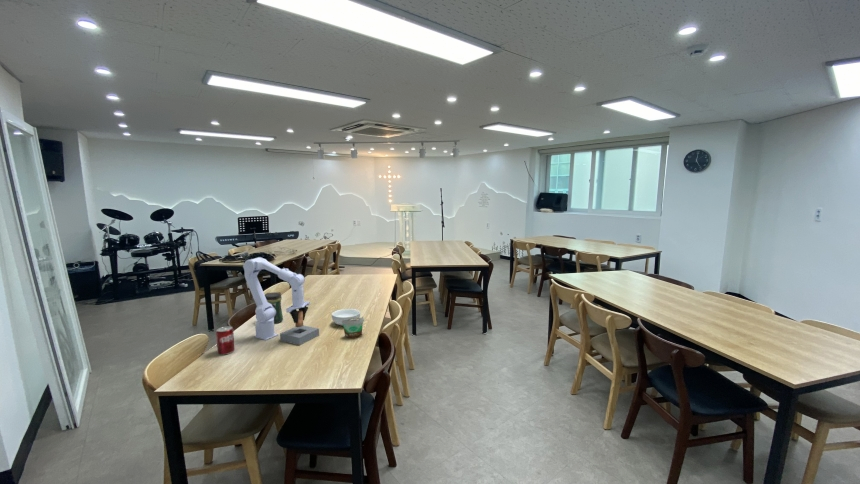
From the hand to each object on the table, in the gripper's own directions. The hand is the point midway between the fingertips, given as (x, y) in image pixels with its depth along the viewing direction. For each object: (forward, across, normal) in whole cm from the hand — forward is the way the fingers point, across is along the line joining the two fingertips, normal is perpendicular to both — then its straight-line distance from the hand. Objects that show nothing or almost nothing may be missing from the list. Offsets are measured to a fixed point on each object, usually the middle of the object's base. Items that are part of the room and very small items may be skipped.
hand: (299, 321), depth 177 cm
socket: (+9, 0, 0) cm, 9 cm away
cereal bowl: (+10, +28, -9) cm, 31 cm away
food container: (+10, +14, -26) cm, 31 cm away
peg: (+2, 0, 0) cm, 2 cm away
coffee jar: (+10, +12, +34) cm, 37 cm away
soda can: (+10, -28, +20) cm, 36 cm away
